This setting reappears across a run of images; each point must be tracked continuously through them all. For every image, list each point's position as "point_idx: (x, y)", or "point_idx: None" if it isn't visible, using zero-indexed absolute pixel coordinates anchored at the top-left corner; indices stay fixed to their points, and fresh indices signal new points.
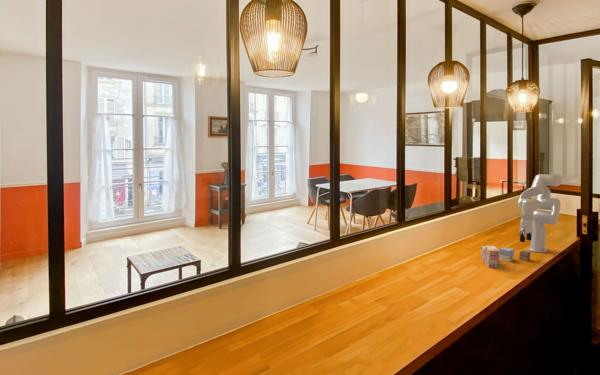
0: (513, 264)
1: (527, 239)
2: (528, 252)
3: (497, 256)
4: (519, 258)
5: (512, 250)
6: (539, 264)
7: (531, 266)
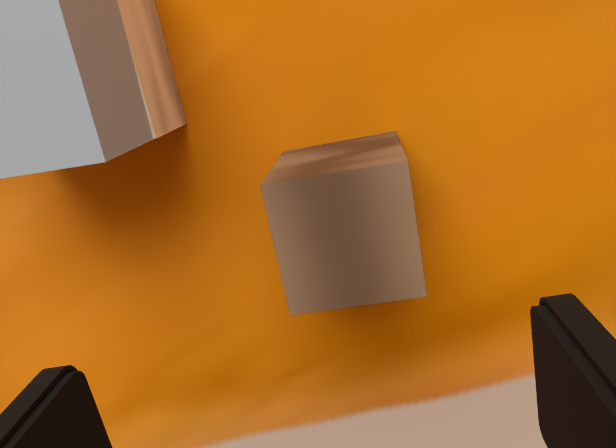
0: (18, 256)
1: (536, 342)
2: (362, 297)
3: None
4: (281, 157)
5: (40, 170)
6: (335, 403)
7: (170, 400)
